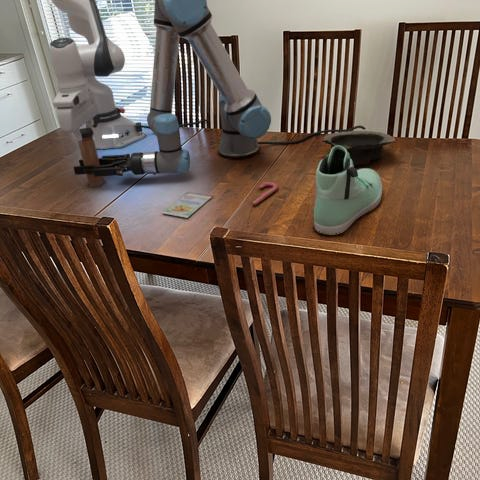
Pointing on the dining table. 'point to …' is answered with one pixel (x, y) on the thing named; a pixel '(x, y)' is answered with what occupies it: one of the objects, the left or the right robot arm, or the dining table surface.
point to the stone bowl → (360, 144)
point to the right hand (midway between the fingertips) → (77, 167)
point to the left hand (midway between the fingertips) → (85, 136)
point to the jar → (90, 159)
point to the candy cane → (266, 192)
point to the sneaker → (343, 192)
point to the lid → (86, 132)
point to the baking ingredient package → (187, 205)
